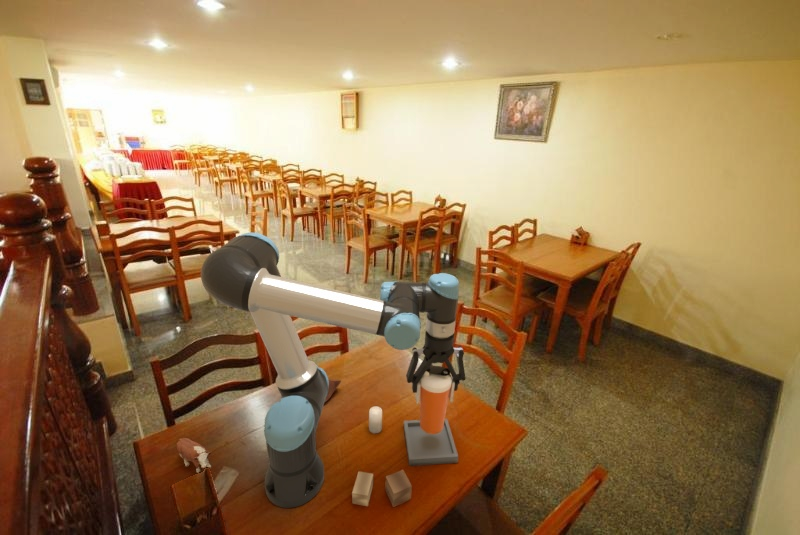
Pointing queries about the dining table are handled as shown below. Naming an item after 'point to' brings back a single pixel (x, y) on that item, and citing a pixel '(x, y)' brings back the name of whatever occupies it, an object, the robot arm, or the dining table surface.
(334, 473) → the dining table surface
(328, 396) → the fossil
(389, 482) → the walnut block
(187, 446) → the bull figurine
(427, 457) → the tray
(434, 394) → the shaker bottle
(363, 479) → the oak block
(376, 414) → the ceramic shaker
